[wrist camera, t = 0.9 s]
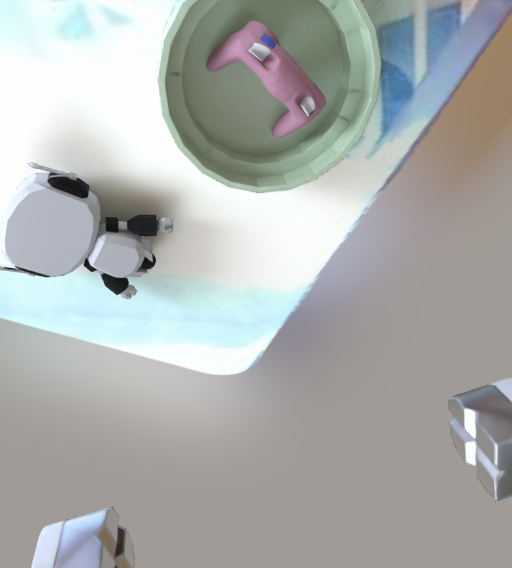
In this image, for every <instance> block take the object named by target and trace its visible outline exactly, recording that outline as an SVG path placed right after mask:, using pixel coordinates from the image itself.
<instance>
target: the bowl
mask: <svg viewBox="0 0 512 568" xmlns="http://www.w3.org/2000/svg"><path fill="white" fill-rule="evenodd" d="M249 21H256V22H259V23H261V24H263V25H264V26H266V27H267V28H268V29H270V30H271V31H272V33H273V34H274V35H275V36H276V38H277V39H278V41H279V43H280V46H281V47H282V48H283V49H284V50H285V51H286V52H287V53H288V54H289V55H290V56H291V57H292V58H293V59H294V60H295V62H296V63H297V64H298V65H299V66H300V67H301V68H302V70H303V71H304V72H305V73H306V75H307V76H308V77H309V79H310V80H311V82H314V83H316V84H317V85H318V86H319V88H320V90H321V91H322V93H323V94H324V96H325V98H326V105H325V107H324V108H323V109H322V111H321V112H320V114H319V115H318V116H316V117H315V118H314V119H313V120H312V121H311V122H309V123H308V124H306V125H304V126H303V127H301V128H299V129H297V130H296V131H294V132H292V133H290V134H288V135H286V136H284V137H280V138H276V137H274V136H273V135H272V128H273V126H274V125H275V124H276V122H277V121H278V120H279V119H280V118H281V117H282V116H283V115H284V114H285V113H287V112H288V111H289V109H288V108H287V107H286V105H285V104H284V103H283V102H281V101H279V100H278V99H276V98H275V97H273V96H272V95H271V94H270V92H269V91H268V90H267V88H266V87H265V85H264V84H263V82H262V80H261V78H260V77H259V76H258V75H257V74H256V73H255V72H254V71H253V70H252V69H251V68H250V67H249V66H248V65H247V64H246V63H245V62H243V61H242V60H239V61H235V62H233V63H231V64H229V65H227V66H226V67H224V68H222V69H221V70H219V71H215V72H210V71H208V70H207V67H206V65H207V60H208V58H209V56H210V54H211V53H212V52H213V51H214V49H215V48H216V47H217V46H218V45H219V44H220V43H221V42H222V41H224V40H225V39H226V38H227V37H228V36H230V35H231V34H233V33H234V32H236V31H238V30H240V29H242V28H244V26H245V25H246V24H247V23H248V22H249ZM381 65H382V64H381V57H380V51H379V45H378V40H377V34H376V28H375V25H374V23H373V21H372V20H371V18H370V16H369V14H368V12H367V10H366V8H365V6H364V5H363V3H362V1H361V0H178V2H177V4H176V6H175V8H174V10H173V12H172V14H171V16H170V18H169V20H168V22H167V24H166V26H165V28H164V31H163V37H162V43H161V50H160V56H159V63H158V76H157V82H158V88H159V95H160V102H161V108H162V115H163V118H164V120H165V123H166V125H167V127H168V129H169V131H170V133H171V135H172V137H173V139H174V141H175V143H176V145H177V147H178V148H179V150H180V151H181V152H182V153H183V154H184V155H185V156H186V157H187V158H188V159H189V160H190V161H191V162H192V163H193V164H194V165H195V167H196V168H197V169H198V170H199V171H200V172H202V173H203V174H205V175H207V176H209V177H211V178H213V179H214V180H216V181H218V182H220V183H222V184H224V185H225V186H227V187H231V188H236V189H241V190H246V191H251V192H256V193H264V192H274V191H284V190H290V189H292V188H295V187H297V186H300V185H302V184H305V183H307V182H310V181H313V180H315V179H317V178H319V177H320V176H321V175H323V174H324V173H325V172H327V171H328V170H329V169H331V168H332V167H333V166H335V165H336V164H337V163H339V162H340V161H341V160H342V159H343V158H344V157H345V156H346V155H347V153H348V152H349V151H350V149H351V148H352V147H353V146H354V144H355V143H356V142H357V140H358V139H359V138H360V137H361V135H362V134H363V132H364V130H365V128H366V125H367V123H368V121H369V118H370V116H371V113H372V111H373V109H374V106H375V104H376V101H377V97H378V89H379V81H380V73H381Z"/></svg>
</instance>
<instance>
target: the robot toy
mask: <svg viewBox="0 0 512 568" xmlns="http://www.w3.org/2000/svg"><path fill="white" fill-rule="evenodd" d="M28 165H29V166H30V167H32V168H35V169H42V170H45V171H49V172H51V173H36V174H34V175H32V176H30V177H28V178H26V179H25V180H24V181H23V182H22V183H21V184H20V185H19V186H18V188H17V189H16V190H15V192H14V193H13V195H12V196H11V198H10V200H9V201H8V203H7V205H6V206H5V209H4V212H3V215H2V219H1V227H0V248H1V251H2V253H3V254H4V256H5V258H6V259H7V260H8V261H10V262H11V263H12V264H13V265H14V266H15V267H16V268H18V269H14V268H7V267H0V270H4V271H12V272H20V273H27V274H28V275H31V276H35V275H37V276H43V277H56V276H64V275H66V274H68V273H70V272H72V271H74V270H75V269H76V268H78V267H79V266H80V265H81V264H82V263H83V261H84V260H85V262H84V266H85V267H86V268H87V269H88V270H90V271H91V272H94V271H97V272H98V273H99V274H101V276H102V279H103V281H104V284H105V286H106V287H107V288H108V289H110V290H111V291H112V292H114V293H115V294H116V295H118V294H120V295H121V296H122V297H123V298H126V299H130V298H131V297H132V295H133V296H134V295H136V292H137V290H136V289H135V287H134V286H133V285H129V281H128V279H127V278H126V277H129V276H137V277H141V276H142V275H144V274H145V273H147V269H151V268H152V267H154V265H155V263H156V258H155V256H154V255H153V254H152V246H151V243H150V242H149V241H148V240H147V239H145V238H144V237H143V236H157V230H158V231H160V232H162V233H164V234H165V233H170V232H172V230H173V220H172V219H171V218H167V217H163V218H161V219H158V220H157V221H156V215H137V216H135V217H133V218H131V219H130V220H128V221H118V219H117V217H106V222H105V223H102V224H100V225H99V221H100V204H99V201H98V198H97V196H96V195H95V194H93V193H92V192H91V191H90V190H89V185H87V184H86V183H85V182H83V181H82V180H81V179H79V178H77V174H75V173H71V172H69V173H65V172H62V171H58V170H55V169H51V168H48V167H44V166H40V165H38V164H36V163H28ZM87 256H88V258H87V259H86V257H87ZM130 293H131V294H132V295H131V294H130Z"/></svg>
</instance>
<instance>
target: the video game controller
mask: <svg viewBox="0 0 512 568" xmlns="http://www.w3.org/2000/svg"><path fill="white" fill-rule="evenodd" d="M239 60H242V61H243V62H245V63H246V64H247V65H248V66H249V67H250V68H251V69H252V70H253V71H254V72H255V73H256V74H257V75H258V76H259V77H260V78H261V80H262V82H263V84H264V85H265V87H266V88H267V90H268V91H269V92H270V94H271V95H272V96H273V97H275V98H276V99H278V100H279V101H281V102H283V103H284V104H285V105H286V107H287V108H288V109H289V111H288V112H287V113H285V114H284V115H283V116H282V117H281V118H280V119H279V120H278V121H277V122H276V124H275V125H274V126H273V128H272V135H273V136H274V137H276V138H280V137H284V136H286V135H288V134H290V133H292V132H294V131H296V130H297V129H299V128H301V127H303V126H304V125H306V124H308V123H309V122H311V121H312V120H313V119H314V118H315V117H316V116H318V115H319V114H320V112H321V111H322V109H323V108H324V107H325V105H326V98H325V96H324V94H323V93H322V91H321V90H320V88H319V86H318V85H317V84H316V83H314V82H311V80H310V79H309V77H308V76H307V75H306V73H305V72H304V71H303V70H302V68H301V67H300V66H299V65H298V64H297V63H296V62H295V60H294V59H293V58H292V57H291V56H290V55H289V54H288V53H287V52H286V51H285V50H284V49H283V48H282V47H281V46H280V43H279V41H278V39H277V38H276V36H275V35H274V34H273V33H272V31H271V30H270V29H268V28H267V27H266V26H264V25H263V24H261V23H259V22H256V21H249V22H248V23H247V24H246V25H245V26H244V28H242V29H240V30H238V31H236V32H234V33H233V34H231V35H230V36H228V37H227V38H226V39H225V40H224V41H222V42H221V43H220V44H219V45H218V46H217V47H216V48H215V49H214V51H213V52H212V53H211V54H210V56H209V58H208V60H207V65H206V67H207V70H208V71H210V72H215V71H219V70H221V69H222V68H224V67H226V66H227V65H229V64H231V63H233V62H235V61H239Z"/></svg>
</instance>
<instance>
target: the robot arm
mask: <svg viewBox="0 0 512 568" xmlns="http://www.w3.org/2000/svg"><path fill="white" fill-rule="evenodd" d="M448 403H449V411H450V412H451V413H452V414H453V415H454V417H453V418H452V420H451V422H450V424H449V425H450V434H451V437H452V440H453V443H454V445H455V447H456V449H457V451H458V453H459V454H460V456H461V457H462V458H463V460H464V461H465V462H466V463H468V464H470V465H472V466H475V467H477V478H478V480H479V481H480V482H481V484H482V485H483V486H484V487H485V489H486V490H487V492H488V493H489V494H490V495H491V497H492V498H493V499H494V500H495V502H496V501H499V500H502V499H506V498H509V497H512V378H507V379H504V380H501V381H498V382H495V383H492V384H490V385H485V386H482V387H479V388H476V389H473V390H470V391H467V392H464V393H461V394H458V395H455V396H452V397H450V399H449V402H448ZM118 520H119V516H118V514H117V513H116V511H115V509H114V508H113V507H108V508H105V509H101V510H98V511H94V512H91V513H88V514H84V515H81V516H77V517H74V518H71V519H67V520H65V521H62V522H58V523H55V524H51V525H49V526H45V527H44V528H43V530H42V531H41V533H40V536H39V539H38V543H37V547H36V551H35V555H34V559H33V563H32V567H31V568H135V567H134V566H135V557H134V549H133V543H132V541H131V537H130V535H129V533H128V531H127V529H126V528H124V527H121V526H119V525H118Z"/></svg>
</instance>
